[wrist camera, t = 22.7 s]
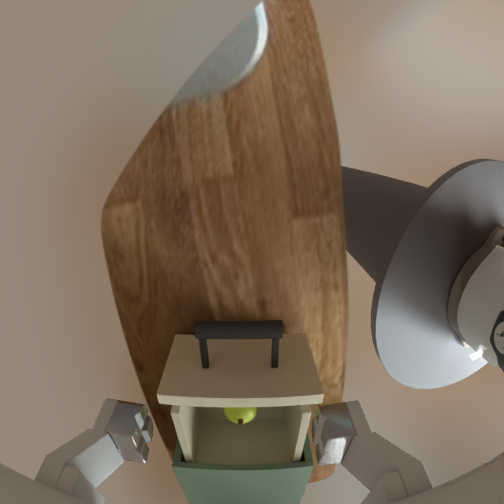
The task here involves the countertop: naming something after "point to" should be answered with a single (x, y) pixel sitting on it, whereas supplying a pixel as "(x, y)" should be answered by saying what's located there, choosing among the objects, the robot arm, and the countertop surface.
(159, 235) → the countertop surface
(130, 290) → the countertop surface
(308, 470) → the cabinet
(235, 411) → the pear
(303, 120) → the countertop surface
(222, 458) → the drawer
